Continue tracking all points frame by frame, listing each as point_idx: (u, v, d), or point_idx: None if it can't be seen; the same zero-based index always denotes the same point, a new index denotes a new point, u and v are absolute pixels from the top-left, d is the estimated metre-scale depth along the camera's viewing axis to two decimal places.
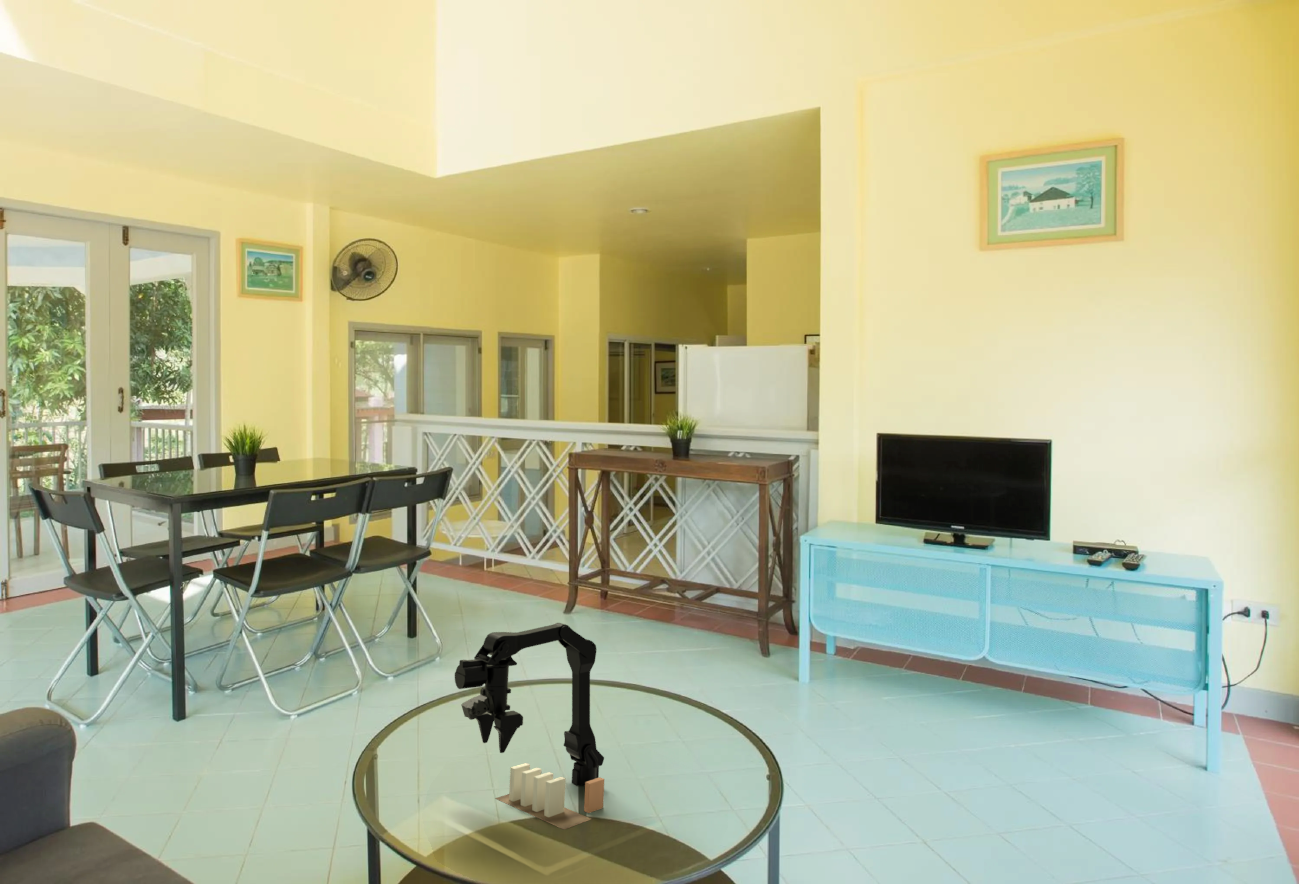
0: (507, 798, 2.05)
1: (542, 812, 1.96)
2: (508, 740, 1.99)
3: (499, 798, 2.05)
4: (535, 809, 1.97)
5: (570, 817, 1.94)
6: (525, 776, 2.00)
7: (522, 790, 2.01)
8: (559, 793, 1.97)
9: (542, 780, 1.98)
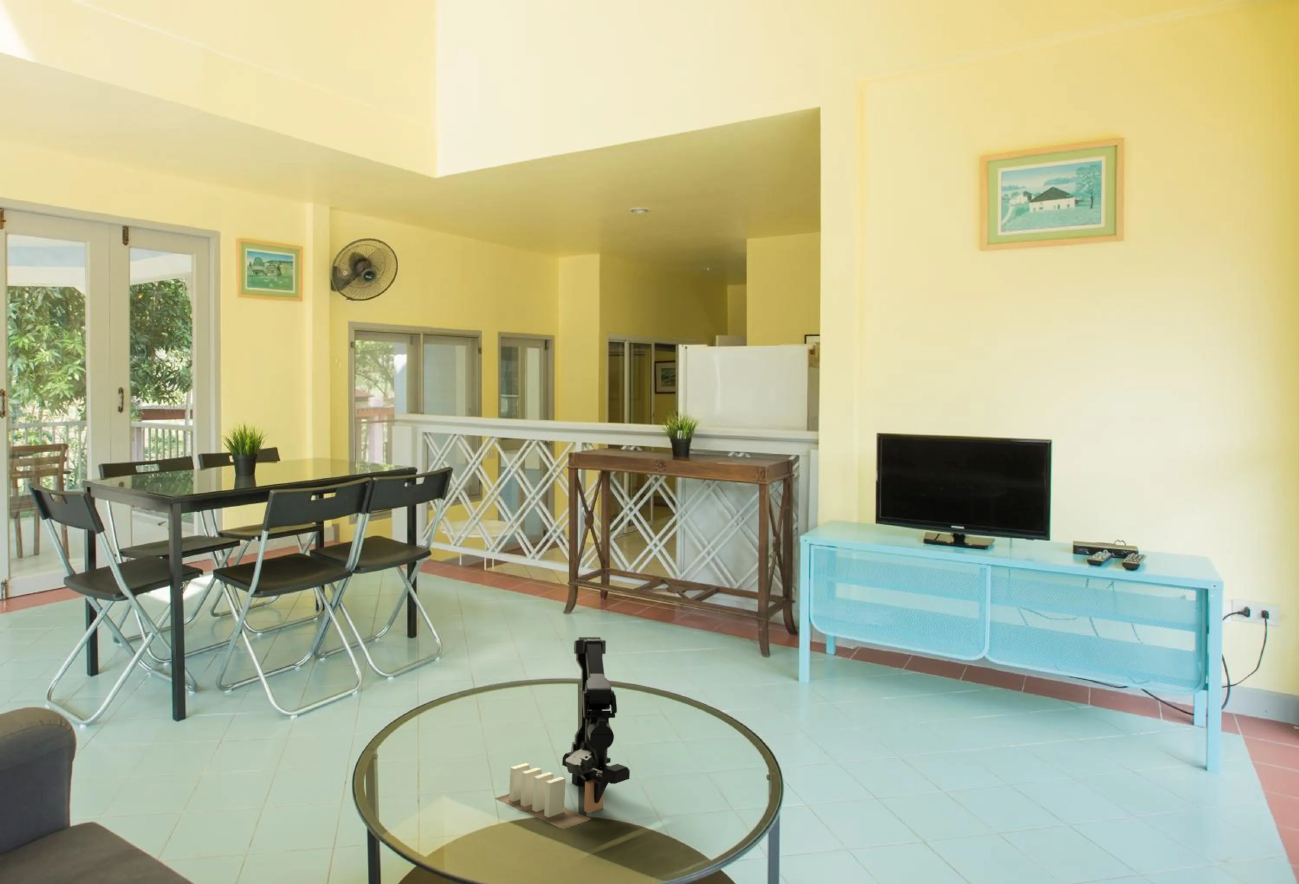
0: (507, 798, 2.05)
1: (542, 812, 1.96)
2: (603, 790, 2.00)
3: (499, 798, 2.05)
4: (535, 809, 1.97)
5: (570, 817, 1.94)
6: (525, 776, 2.00)
7: (522, 790, 2.01)
8: (559, 793, 1.97)
9: (542, 780, 1.98)
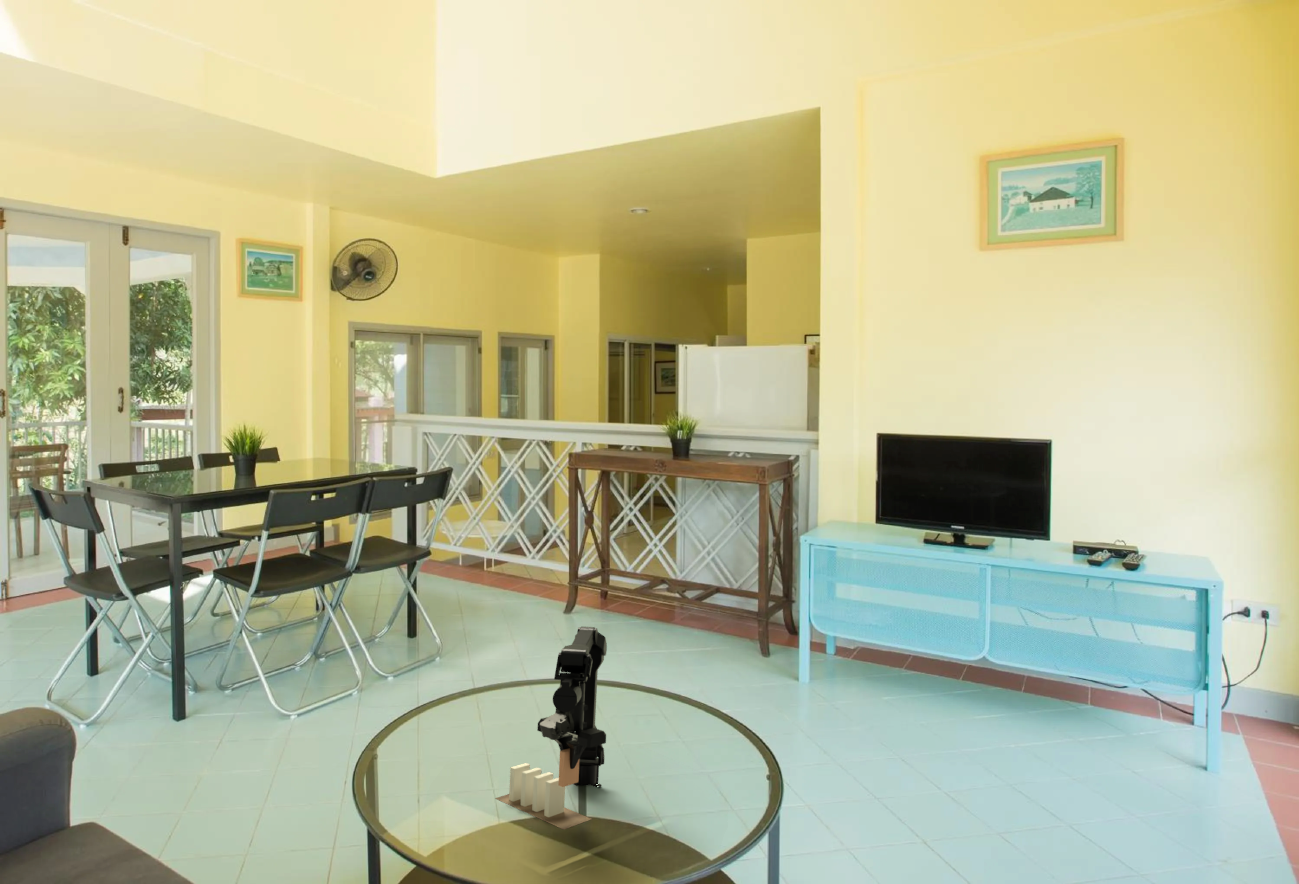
0: (507, 798, 2.05)
1: (542, 812, 1.96)
2: (579, 755, 1.94)
3: (499, 798, 2.05)
4: (535, 809, 1.97)
5: (570, 817, 1.94)
6: (525, 776, 2.00)
7: (522, 790, 2.01)
8: (559, 793, 1.97)
9: (542, 780, 1.98)
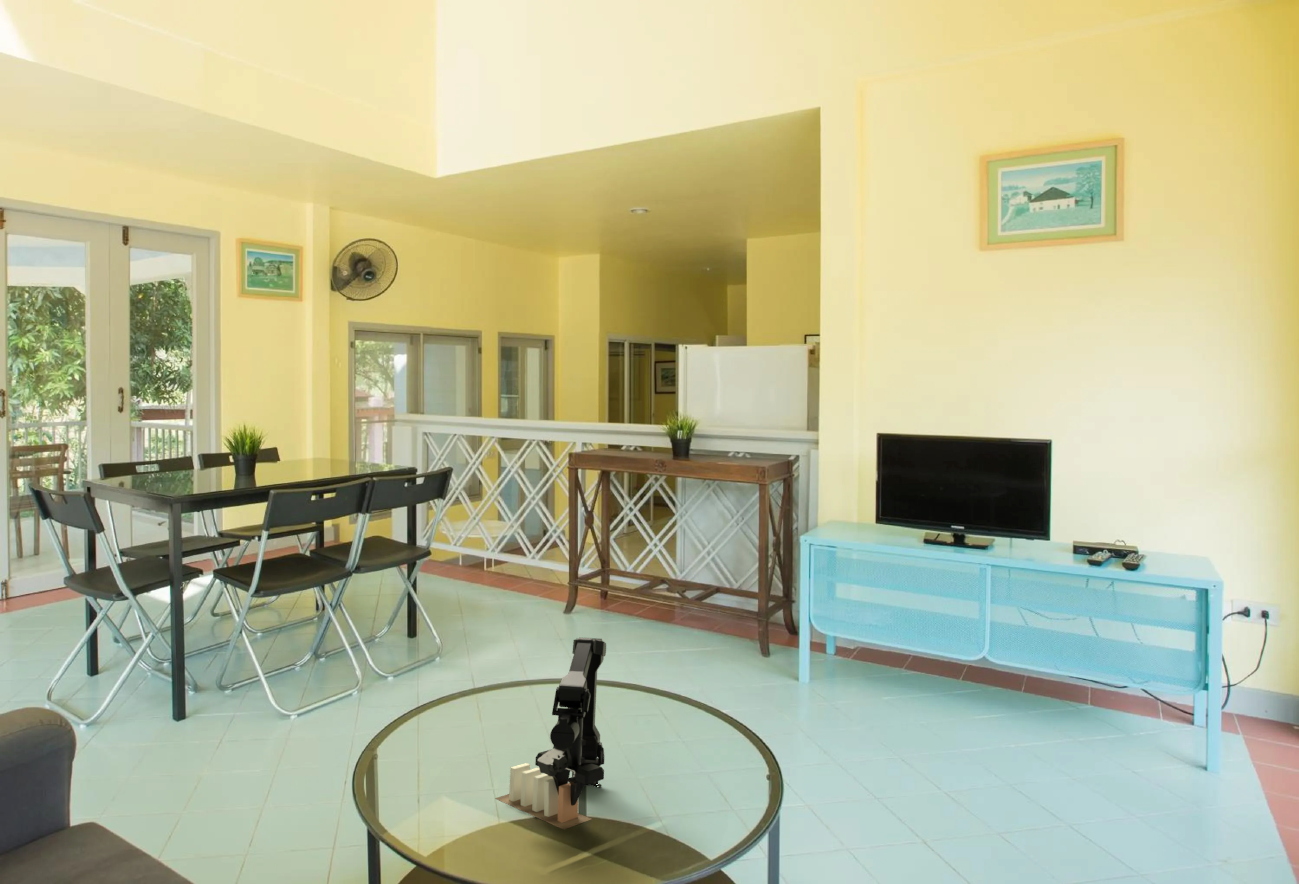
0: (507, 798, 2.05)
1: (542, 812, 1.96)
2: (580, 792, 1.92)
3: (499, 798, 2.05)
4: (535, 809, 1.97)
5: None
6: (525, 776, 2.00)
7: (522, 790, 2.01)
8: None
9: (542, 780, 1.98)
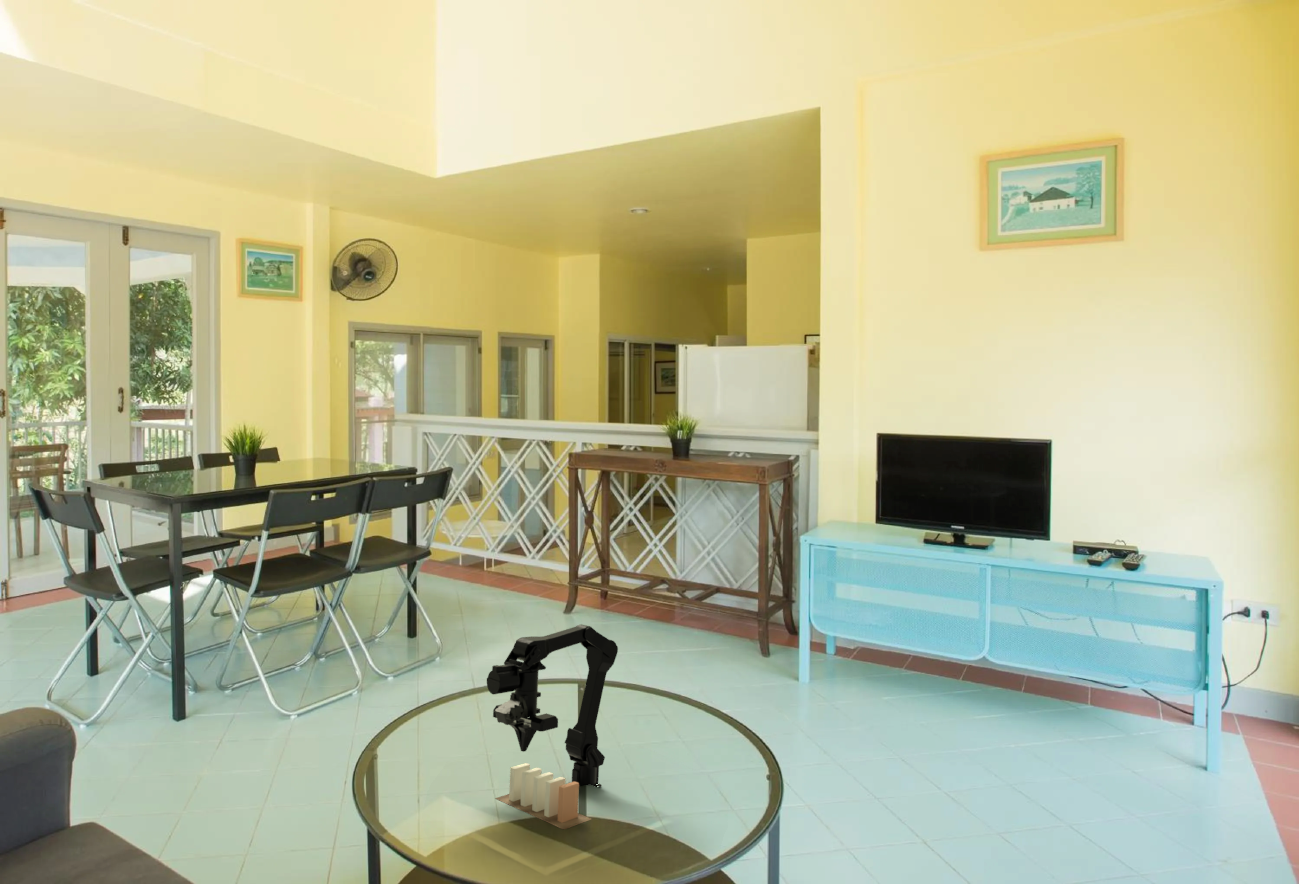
0: (507, 798, 2.05)
1: (542, 812, 1.96)
2: (530, 739, 2.05)
3: (499, 798, 2.05)
4: (535, 809, 1.97)
5: None
6: (525, 776, 2.00)
7: (522, 790, 2.01)
8: None
9: (542, 780, 1.98)
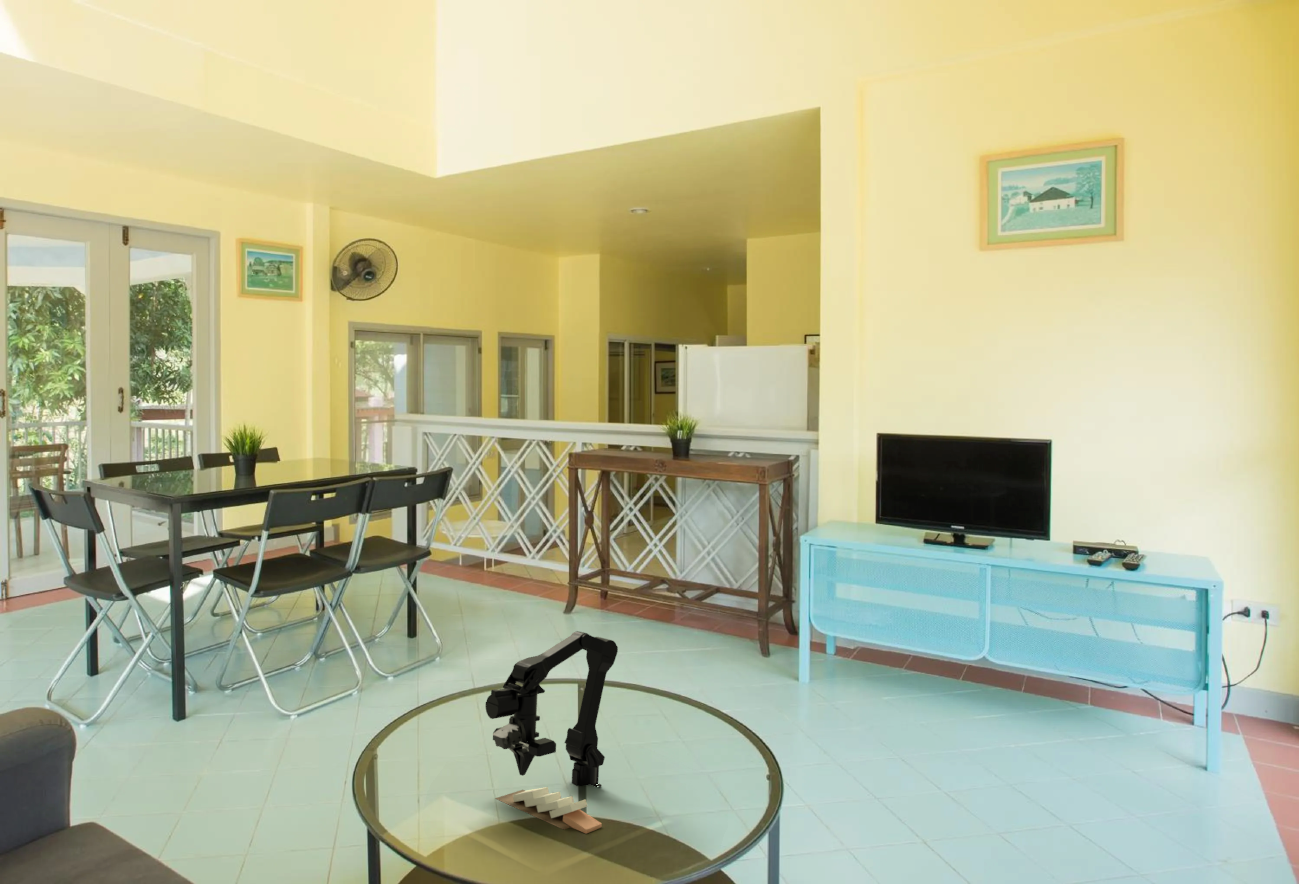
0: (507, 798, 2.05)
1: (542, 812, 1.96)
2: (529, 763, 2.05)
3: (499, 798, 2.05)
4: (538, 810, 1.96)
5: None
6: (543, 802, 1.95)
7: (533, 800, 1.98)
8: None
9: None
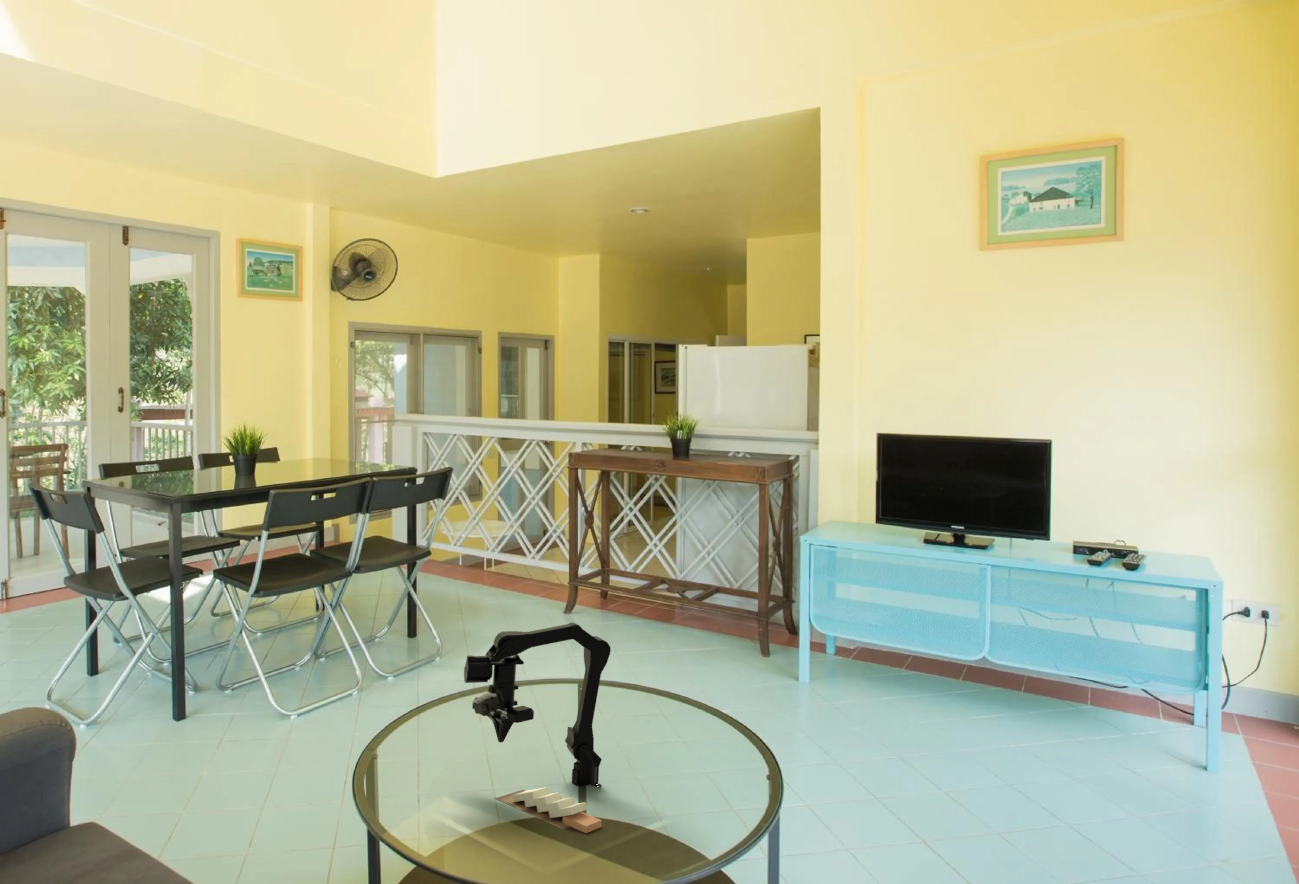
0: (507, 798, 2.05)
1: (542, 812, 1.96)
2: (507, 730, 2.12)
3: (499, 798, 2.05)
4: (538, 810, 1.96)
5: None
6: (543, 803, 1.95)
7: (533, 800, 1.98)
8: None
9: (561, 807, 1.93)
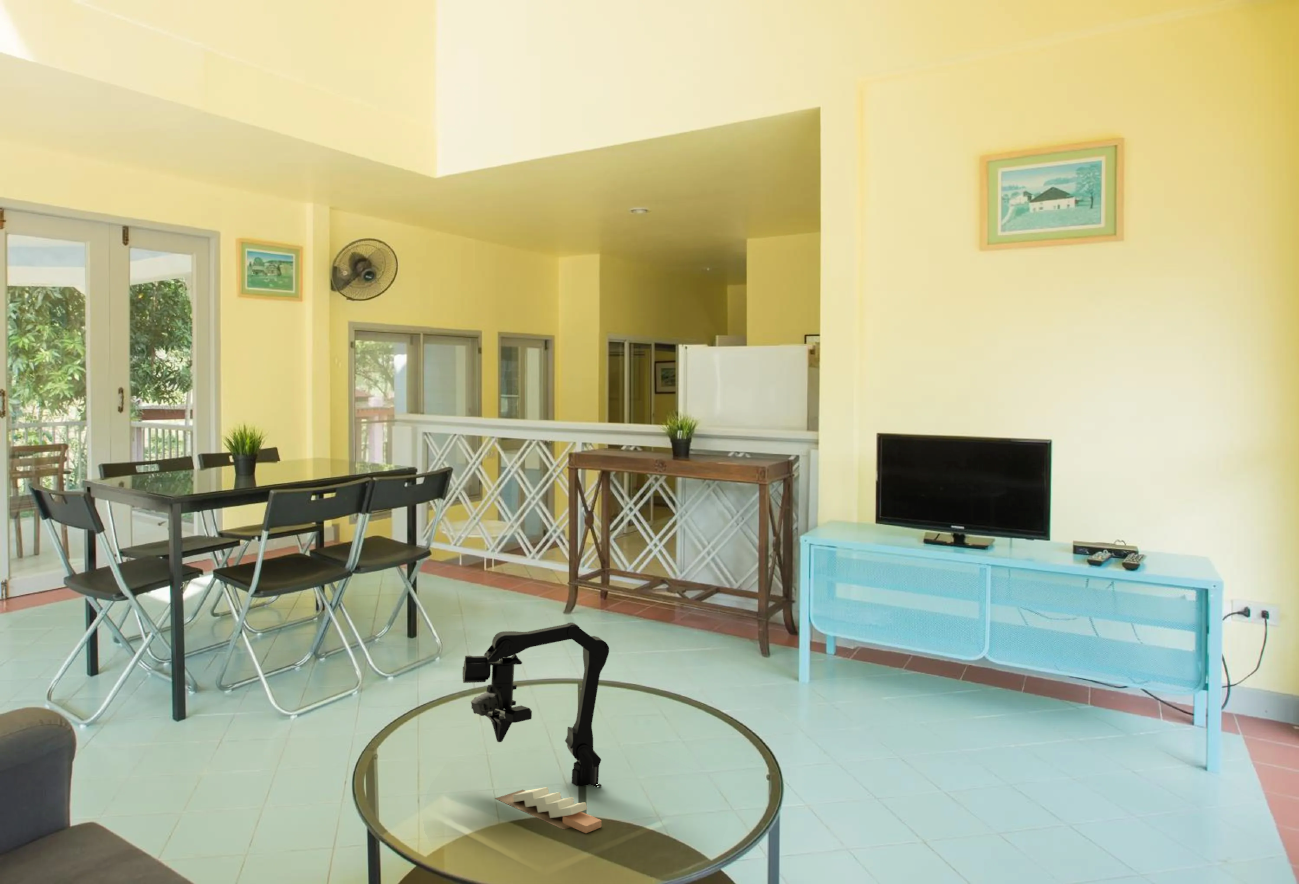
0: (507, 798, 2.05)
1: (542, 812, 1.96)
2: (506, 730, 2.12)
3: (499, 798, 2.05)
4: (538, 810, 1.96)
5: None
6: (543, 803, 1.95)
7: (533, 800, 1.98)
8: None
9: (561, 807, 1.93)
